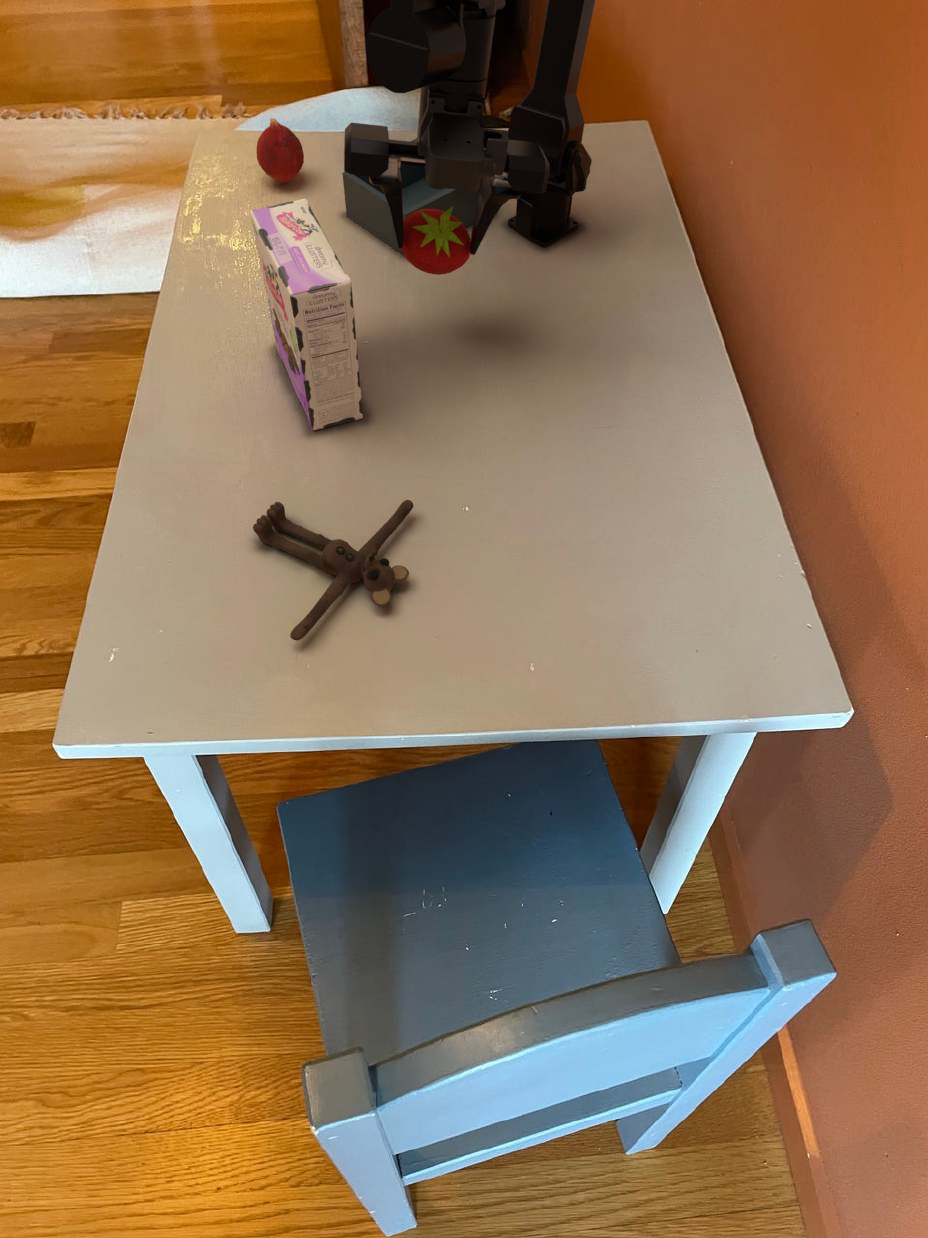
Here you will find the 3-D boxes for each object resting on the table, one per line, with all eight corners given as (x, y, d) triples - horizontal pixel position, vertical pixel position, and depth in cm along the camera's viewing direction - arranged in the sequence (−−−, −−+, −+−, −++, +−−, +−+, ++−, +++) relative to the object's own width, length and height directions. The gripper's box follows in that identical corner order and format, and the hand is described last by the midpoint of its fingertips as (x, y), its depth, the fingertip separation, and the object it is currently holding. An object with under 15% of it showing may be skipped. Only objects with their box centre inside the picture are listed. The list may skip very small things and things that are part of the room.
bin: (428, 175, 118) (427, 132, 113) (489, 214, 113) (491, 171, 109) (346, 216, 113) (342, 172, 108) (407, 258, 108) (405, 214, 103)
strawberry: (400, 225, 96) (410, 179, 86) (469, 246, 97) (486, 204, 87) (387, 278, 96) (395, 238, 86) (455, 299, 97) (471, 262, 87)
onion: (313, 173, 118) (305, 110, 111) (298, 197, 115) (289, 134, 108) (270, 166, 119) (260, 103, 112) (255, 190, 115) (243, 127, 109)
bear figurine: (321, 448, 86) (450, 499, 81) (329, 480, 89) (454, 531, 84) (195, 577, 77) (332, 643, 72) (210, 607, 81) (341, 673, 76)
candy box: (274, 348, 99) (247, 206, 85) (326, 336, 100) (307, 194, 86) (311, 433, 91) (287, 293, 78) (366, 418, 93) (352, 278, 79)
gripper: (348, 86, 72) (341, 277, 83) (575, 112, 75) (540, 293, 86) (347, 49, 80) (341, 228, 90) (553, 74, 83) (523, 245, 93)
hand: (436, 249), depth 90 cm, fingers closed on strawberry, 7 cm apart
